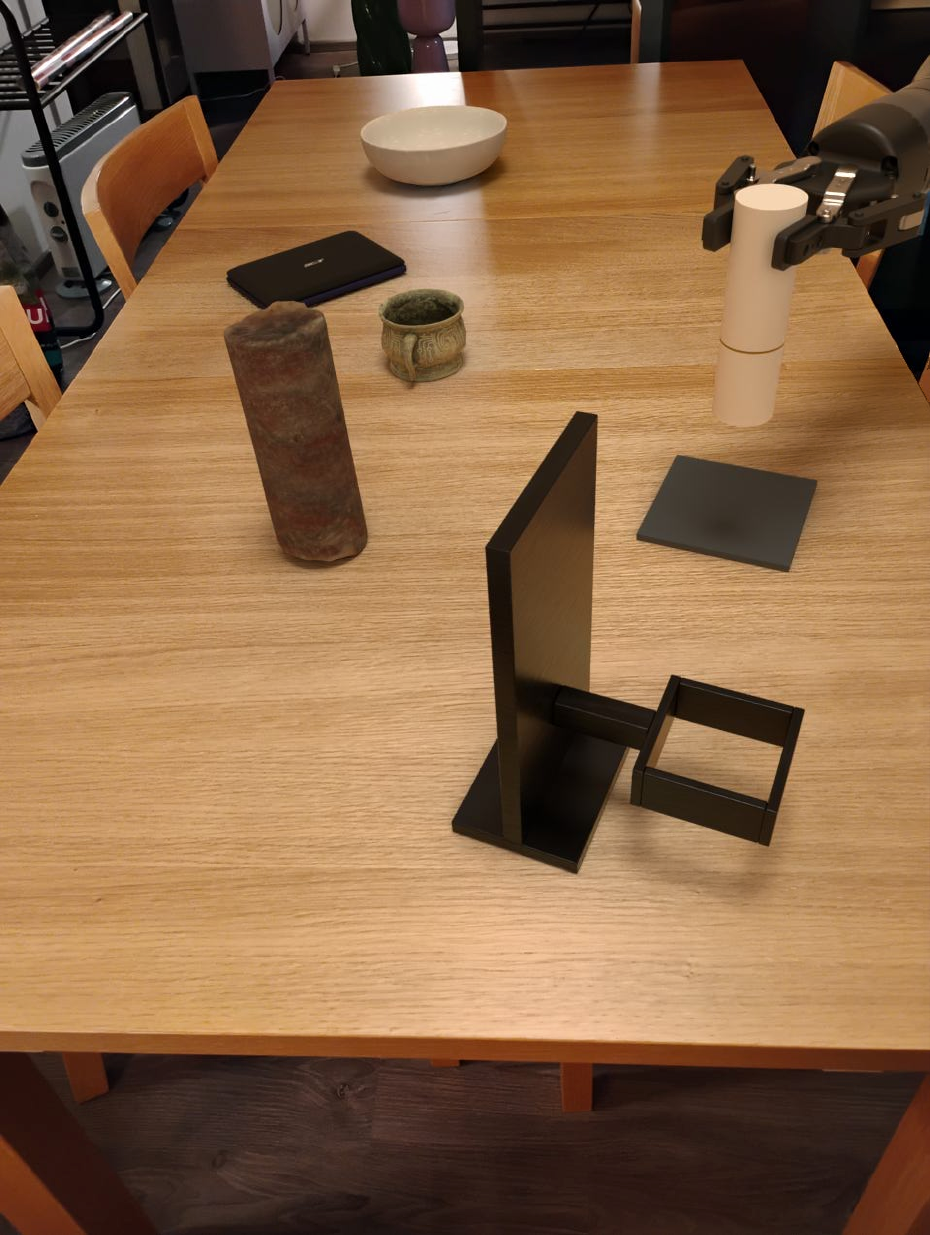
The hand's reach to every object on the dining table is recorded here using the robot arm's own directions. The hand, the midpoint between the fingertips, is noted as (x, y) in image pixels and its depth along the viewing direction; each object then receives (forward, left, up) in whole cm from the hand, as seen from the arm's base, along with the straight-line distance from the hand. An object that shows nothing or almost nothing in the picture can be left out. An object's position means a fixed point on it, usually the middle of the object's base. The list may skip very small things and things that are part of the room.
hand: (743, 244), depth 61 cm
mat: (0, -7, -25) cm, 26 cm away
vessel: (+35, -22, -25) cm, 48 cm away
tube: (-1, -3, -13) cm, 13 cm away
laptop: (+57, -37, -25) cm, 72 cm away
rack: (-1, +24, -25) cm, 35 cm away
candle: (+30, +8, -25) cm, 40 cm away
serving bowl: (+58, -73, -25) cm, 96 cm away
